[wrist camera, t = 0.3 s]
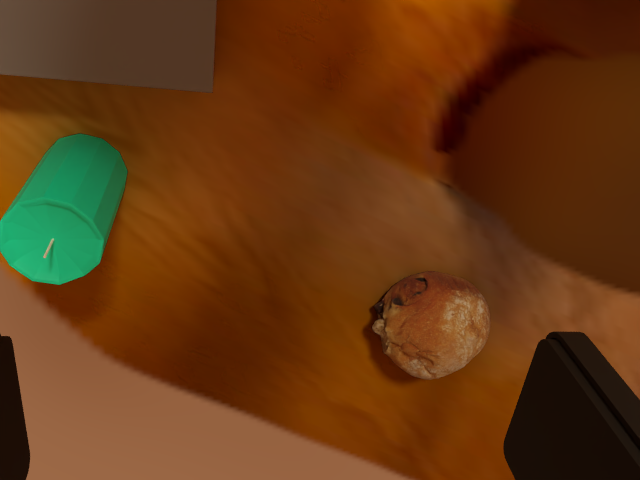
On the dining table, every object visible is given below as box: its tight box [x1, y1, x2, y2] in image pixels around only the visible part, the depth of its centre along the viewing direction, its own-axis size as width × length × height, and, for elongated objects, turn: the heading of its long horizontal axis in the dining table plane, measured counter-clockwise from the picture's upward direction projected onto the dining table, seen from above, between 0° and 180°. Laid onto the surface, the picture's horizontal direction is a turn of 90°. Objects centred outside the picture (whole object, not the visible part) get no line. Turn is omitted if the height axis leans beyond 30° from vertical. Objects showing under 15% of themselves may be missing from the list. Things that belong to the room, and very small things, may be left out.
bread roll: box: [372, 271, 491, 379], centre depth 55 cm, size 10×10×8 cm
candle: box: [0, 133, 128, 285], centre depth 40 cm, size 6×6×12 cm
